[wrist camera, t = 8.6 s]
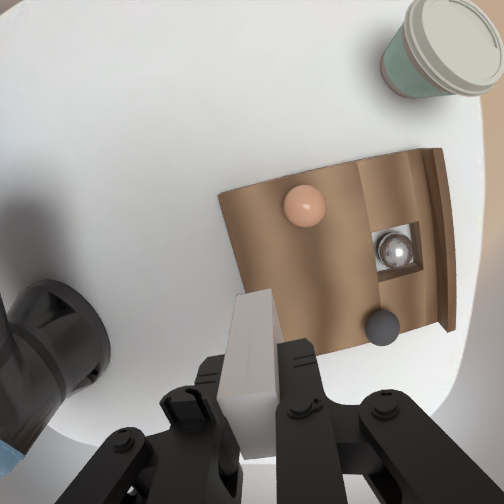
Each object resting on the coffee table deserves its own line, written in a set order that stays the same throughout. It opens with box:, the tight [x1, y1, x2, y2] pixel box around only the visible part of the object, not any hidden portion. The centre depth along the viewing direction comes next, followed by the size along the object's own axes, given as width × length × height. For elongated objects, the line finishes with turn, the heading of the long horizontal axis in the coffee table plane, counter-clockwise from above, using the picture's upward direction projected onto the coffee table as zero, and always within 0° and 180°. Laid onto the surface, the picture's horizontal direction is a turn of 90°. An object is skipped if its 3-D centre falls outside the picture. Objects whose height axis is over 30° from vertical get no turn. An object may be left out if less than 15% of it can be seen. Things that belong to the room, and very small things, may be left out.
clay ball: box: [284, 185, 326, 228], centre depth 26 cm, size 4×4×4 cm
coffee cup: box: [380, 0, 504, 98], centre depth 20 cm, size 8×9×12 cm
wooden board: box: [218, 148, 456, 356], centre depth 29 cm, size 20×18×5 cm
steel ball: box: [378, 232, 413, 269], centre depth 29 cm, size 4×4×4 cm
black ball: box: [365, 310, 400, 346], centre depth 29 cm, size 4×4×4 cm
